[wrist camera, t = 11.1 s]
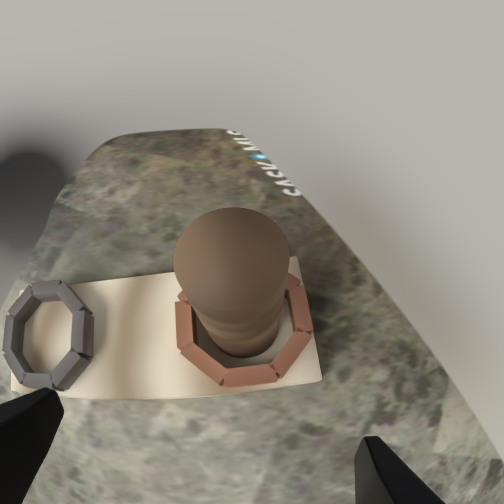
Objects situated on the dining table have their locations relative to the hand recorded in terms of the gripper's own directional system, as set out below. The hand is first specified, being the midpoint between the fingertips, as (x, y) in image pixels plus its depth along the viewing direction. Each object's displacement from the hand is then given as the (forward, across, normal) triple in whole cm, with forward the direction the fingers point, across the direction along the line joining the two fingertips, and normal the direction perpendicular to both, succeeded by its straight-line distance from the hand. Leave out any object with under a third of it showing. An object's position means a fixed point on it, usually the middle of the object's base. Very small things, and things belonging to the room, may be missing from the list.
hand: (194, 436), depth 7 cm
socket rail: (+12, +7, +5) cm, 15 cm away
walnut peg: (+12, 0, +3) cm, 12 cm away
